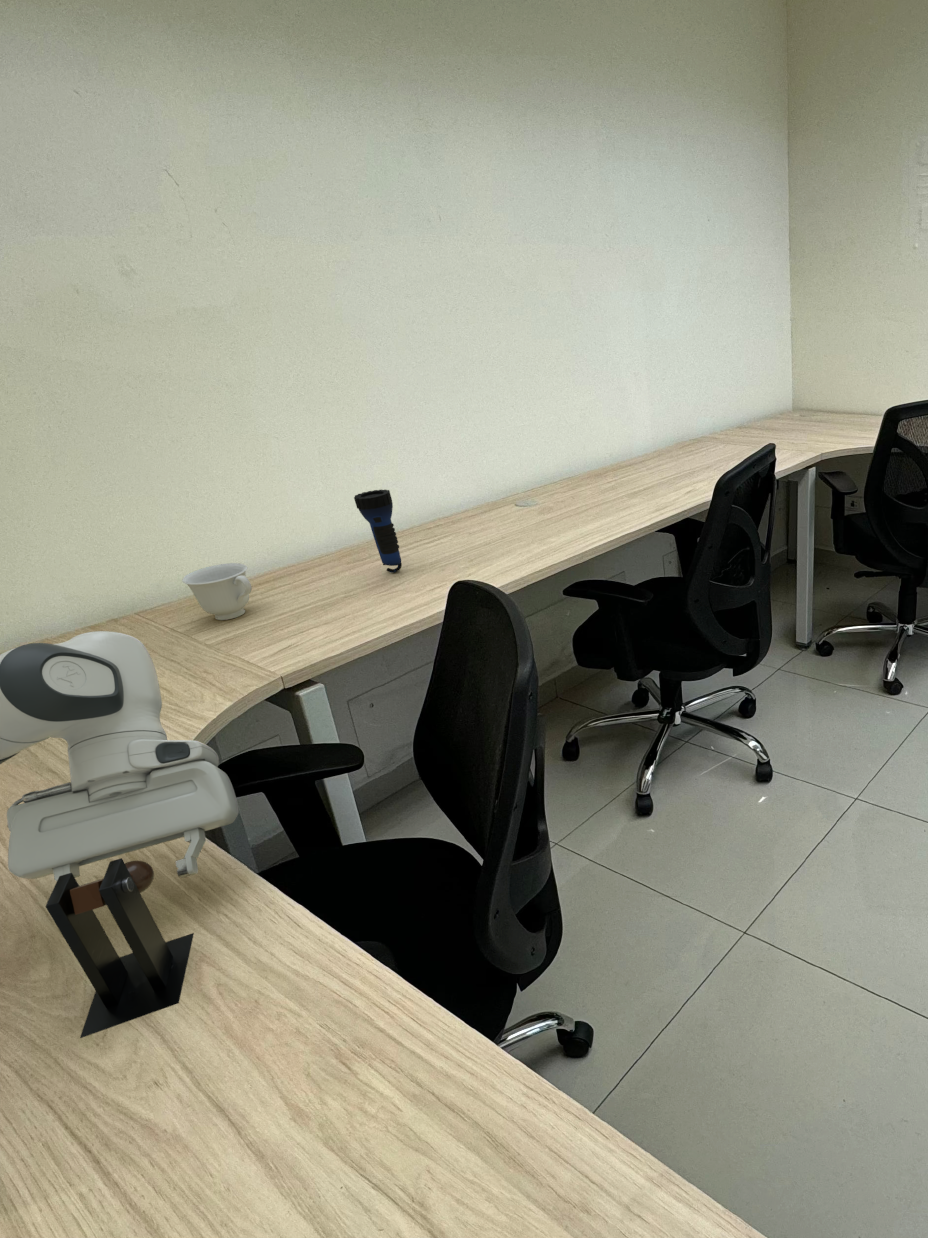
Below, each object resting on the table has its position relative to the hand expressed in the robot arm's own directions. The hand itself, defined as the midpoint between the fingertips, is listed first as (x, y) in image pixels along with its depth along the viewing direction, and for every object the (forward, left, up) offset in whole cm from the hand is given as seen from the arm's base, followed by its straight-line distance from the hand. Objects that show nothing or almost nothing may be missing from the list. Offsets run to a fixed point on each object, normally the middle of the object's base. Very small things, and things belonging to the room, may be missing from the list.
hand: (137, 890), depth 82 cm
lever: (0, -5, +2) cm, 5 cm away
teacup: (-2, +102, -7) cm, 102 cm away
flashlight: (+31, +111, -7) cm, 115 cm away
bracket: (0, -8, -6) cm, 11 cm away
